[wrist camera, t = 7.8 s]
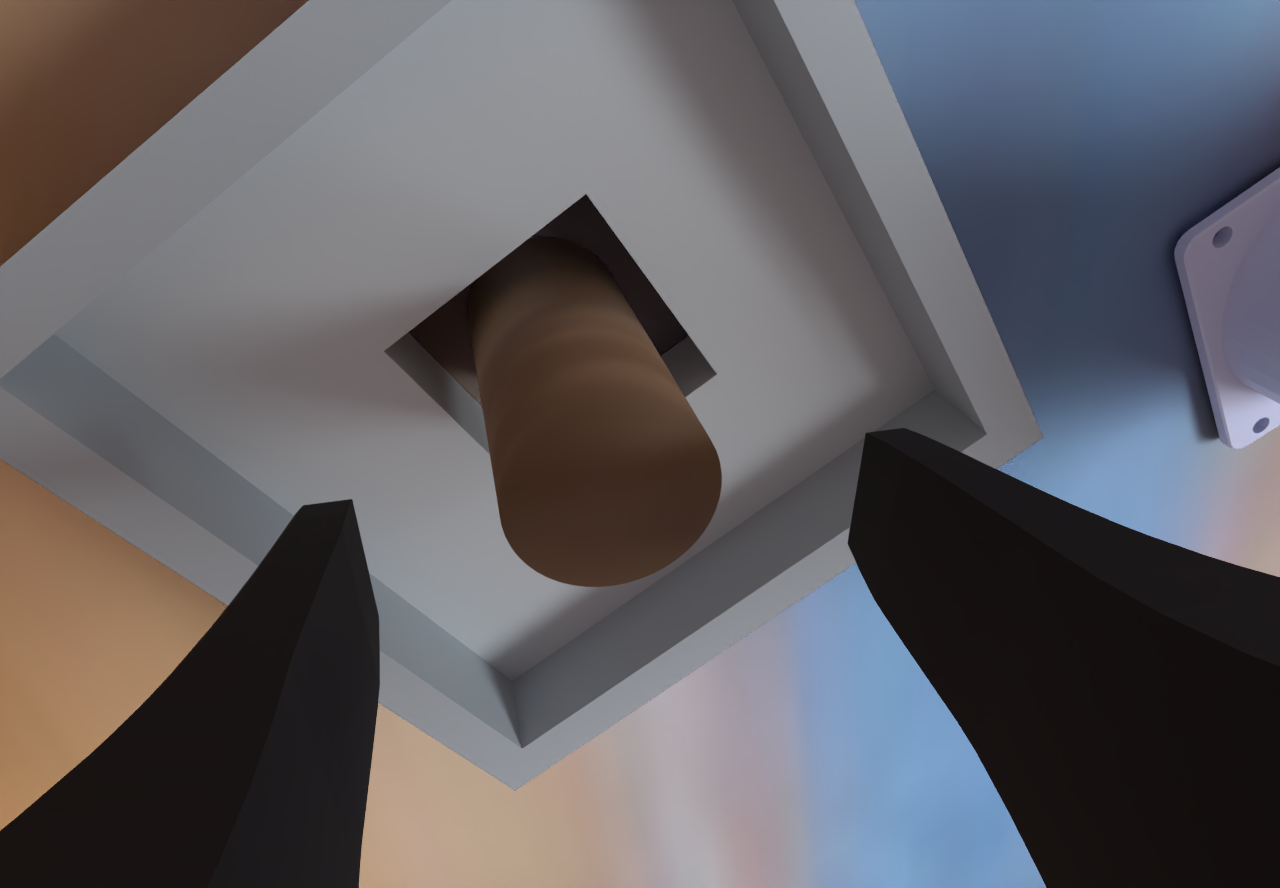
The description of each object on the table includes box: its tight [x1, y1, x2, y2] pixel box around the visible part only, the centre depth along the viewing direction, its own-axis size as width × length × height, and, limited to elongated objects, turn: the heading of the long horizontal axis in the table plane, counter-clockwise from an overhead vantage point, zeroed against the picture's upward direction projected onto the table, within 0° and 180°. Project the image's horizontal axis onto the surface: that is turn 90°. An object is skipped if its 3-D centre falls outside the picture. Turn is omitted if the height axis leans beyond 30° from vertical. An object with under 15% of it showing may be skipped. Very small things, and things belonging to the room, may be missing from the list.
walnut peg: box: [467, 237, 722, 587], centre depth 14 cm, size 3×3×7 cm
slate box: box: [0, 0, 1043, 790], centre depth 16 cm, size 14×14×4 cm
